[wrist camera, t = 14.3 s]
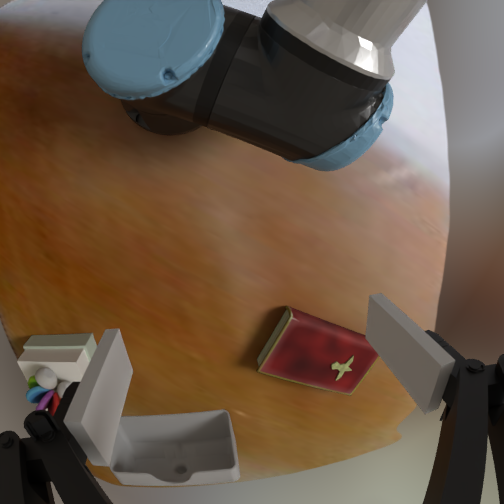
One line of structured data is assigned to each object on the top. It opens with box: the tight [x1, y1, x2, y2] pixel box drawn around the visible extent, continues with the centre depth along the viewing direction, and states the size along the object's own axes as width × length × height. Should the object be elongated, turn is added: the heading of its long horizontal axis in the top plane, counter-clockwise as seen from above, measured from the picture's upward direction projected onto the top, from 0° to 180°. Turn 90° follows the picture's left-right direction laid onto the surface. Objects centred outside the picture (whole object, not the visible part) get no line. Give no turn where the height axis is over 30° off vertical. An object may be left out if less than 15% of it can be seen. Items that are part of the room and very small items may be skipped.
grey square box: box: [17, 333, 97, 411], centre depth 46 cm, size 14×14×8 cm
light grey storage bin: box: [110, 409, 240, 486], centre depth 52 cm, size 25×16×12 cm, turn 96°
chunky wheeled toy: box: [26, 367, 71, 416], centre depth 38 cm, size 8×10×7 cm
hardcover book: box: [256, 306, 380, 396], centre depth 53 cm, size 12×21×4 cm, turn 63°
